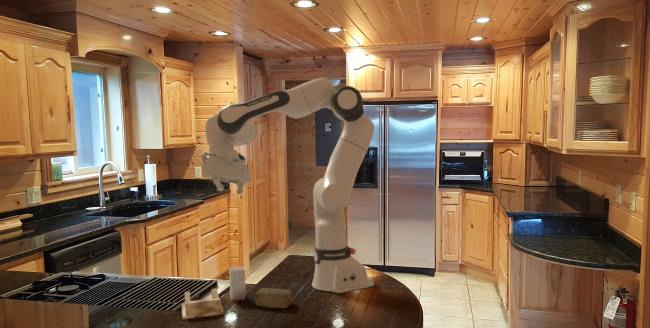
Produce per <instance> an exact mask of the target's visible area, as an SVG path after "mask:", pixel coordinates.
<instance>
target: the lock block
mask: <svg viewBox="0 0 650 328" xmlns="http://www.w3.org/2000/svg"><path fill="white" fill-rule="evenodd" d="M228 270H229V274H228V275H229V296H230V300H231V301H233V302H234V301H241V300H243V301H244V300H246V272H245V271H246V270H245V268H244V266H241V265H240V266H232V267H231V266H230V267H229V269H228Z"/></svg>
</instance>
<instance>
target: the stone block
mask: <svg viewBox="0 0 650 328" xmlns="http://www.w3.org/2000/svg"><path fill="white" fill-rule="evenodd" d="M254 298H255V300H254V305H255V306H257V307H262V308H270V309H271V308H272V309H288V308H289V306H291V305H292V304H293V292H292V291H291V290H290V289H283V288H268V287H261V288H260V289H259V290H257V291H256V293H255V297H254Z"/></svg>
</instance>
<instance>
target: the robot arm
mask: <svg viewBox="0 0 650 328" xmlns="http://www.w3.org/2000/svg"><path fill="white" fill-rule="evenodd" d="M322 109H327V110H328V111H329V112H330V113H331V114H332V115H333V116H334V117H335V118H336V119H337V120H339V121H340V122H343V123H344V124H343V129H342V132H341V134H340V136H339V138H338V140H337V143H336V145H335V147H334V148H333V151H332V152H331V156H330V157H329V160H328V164H327V166H326V167H327V168H326V169H325V173H324V175H323V177H321V178H320V179H318V180H317V181H316V183H315V184H314V185H313V186H314V187H313V188H312V193H313V194H312V195H313V199H312V201H313V210H314V212H313V213H314V222H315V223H314V224H315V246H314V253H313V255H314V257H313V258H314V263H315V267H314V273H313V279H312V283H311V287H312V288H314V289H315V290H319V291H323V292H332V293H337V294H343V293H348V292H351V291H356V290H361V289H366V288H371V287H374V286H375V284H374V283H375V282H374V280H373V279H372V277H370V276H368V273H367V269H366V267H365V265H364V264H362V263H361V262H360V261H359V260H357V259H356V258H355V257H354V256H352V255H356V253H357V251H356V250H357V249H355V248H353V247H350V246H348V245H347V224H346V218H345V210H344V208H345V207H346V206H347V205H348V203H349V201H350V196H351V194H352V190H353V187H354V185H355V181H356V178H357V174H358V172H359V169H360V167H361V165H362V163H363V161H364V158H365V156H366V154H367V152H368V149H369V147H370V145H371V141H372V139H373V136H374V132H375V123H374V121H372V120H371V119H370V118H369V117H367V116H366V115H364V114H365V113H364V99H363V96H362V94H361V93H360V91H359V90H358V89H357V88H355V87H354V86H350V85H344V86H341V87H340V88H336V87H335V86H334V84H333V82H332V81H331V80H330V79H329V78H326V77H319V78H315V79H312V80H309V81H306V82H304V83H301V84H300V85H297V86H294V87H292V88H290V89H289V88H288V89H285V90H278V91H274V92H269V93H267V94H265V95H262V96H259V97H256V98H253V99H250V100H247V101H245V102H240V103H231V104H228V105H225V106H224V107H223V108H222V109H221V110H219V112H218V114H214V115H212V116H210V117H208V119H207V120H206V121H205V126H204V130H205V132H204V133H205V137H206V144H208V147H209V148H208V152H204V153H202V154H201V155H200V156H201V171H202V175H203V177H204V178H205V179H210V180H212V183H213V184H214V185H215V187H216V190H217V192H223V191H224V190H225V187H224V184H222V183H221V182H225V183H230V184H234V185H235V184H236V187H238V188H237V189H236V190H235V191H236V194H237V195H243V194H244V186H245V185H248V184H249V183H250V181H251V176H250V171H249V168H248V165H247V164H246V162H247V159H246V157H245V156H244V155H242V154H241V153H240V152H238V151H237V150H236V149H235V147H239V146H245V145H249V144H250V143H251V142H253V141H254V140H255V138H256V136H257V132H258V130H257V127H256V125H255V124H254V123H253V122H252V120H253V119H255V118H256V119H257V118H258V117H262V116H265V115H267V114H270V113H280V114H283V115H285V116H287V117H289V118H292V119H301V118H304V117H307V116H309V115H311V114H313V113H315V112H317V111H320V110H322Z"/></svg>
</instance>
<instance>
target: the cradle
mask: <svg viewBox="0 0 650 328" xmlns="http://www.w3.org/2000/svg"><path fill="white" fill-rule="evenodd" d="M218 315H219V316H220V315H224V308H223V305H222V302H221V298H220V297H219V293H218V290H217V288H211V298H207V299H200V300H199V299H198V300H193V301H192V300H191V293H190V291H185V292H184V302H182V303H181V316H182V320H189V318H190V319H194V318H195V317H197V318H204V317H211V316H218ZM195 319H196V318H195Z"/></svg>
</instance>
